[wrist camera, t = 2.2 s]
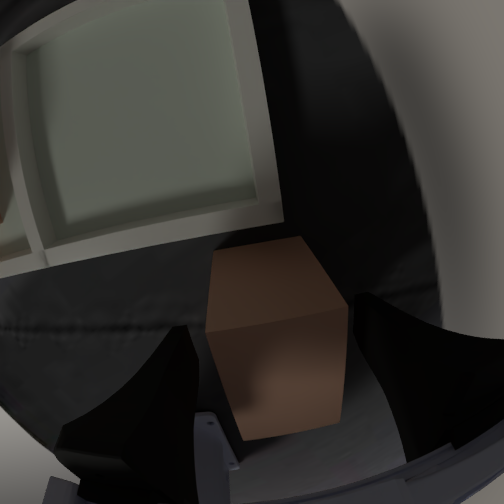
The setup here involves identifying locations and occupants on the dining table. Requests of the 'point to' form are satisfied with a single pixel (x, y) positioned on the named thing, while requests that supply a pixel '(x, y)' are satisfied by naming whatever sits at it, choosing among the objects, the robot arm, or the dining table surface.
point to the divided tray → (132, 130)
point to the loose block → (277, 337)
